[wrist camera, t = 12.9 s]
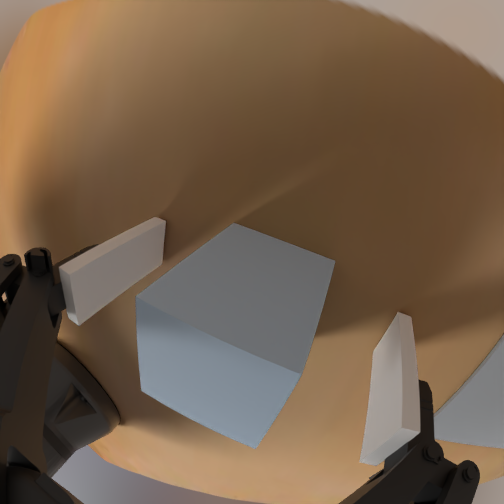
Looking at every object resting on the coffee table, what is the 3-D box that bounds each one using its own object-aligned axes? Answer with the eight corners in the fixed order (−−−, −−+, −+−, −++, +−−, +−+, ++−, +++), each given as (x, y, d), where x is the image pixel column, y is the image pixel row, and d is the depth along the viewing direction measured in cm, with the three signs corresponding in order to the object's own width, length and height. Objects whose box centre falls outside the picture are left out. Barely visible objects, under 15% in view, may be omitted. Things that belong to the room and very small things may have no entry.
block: (216, 304, 16) (141, 390, 10) (233, 222, 14) (135, 296, 8) (300, 339, 15) (255, 448, 9) (335, 260, 13) (301, 374, 7)
